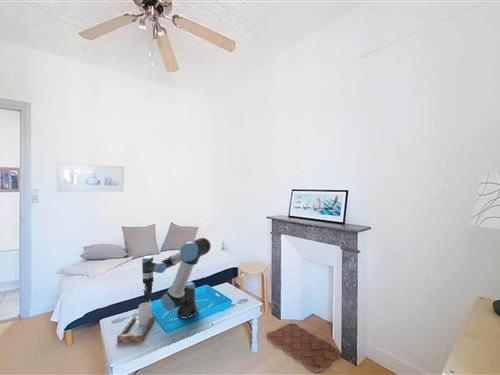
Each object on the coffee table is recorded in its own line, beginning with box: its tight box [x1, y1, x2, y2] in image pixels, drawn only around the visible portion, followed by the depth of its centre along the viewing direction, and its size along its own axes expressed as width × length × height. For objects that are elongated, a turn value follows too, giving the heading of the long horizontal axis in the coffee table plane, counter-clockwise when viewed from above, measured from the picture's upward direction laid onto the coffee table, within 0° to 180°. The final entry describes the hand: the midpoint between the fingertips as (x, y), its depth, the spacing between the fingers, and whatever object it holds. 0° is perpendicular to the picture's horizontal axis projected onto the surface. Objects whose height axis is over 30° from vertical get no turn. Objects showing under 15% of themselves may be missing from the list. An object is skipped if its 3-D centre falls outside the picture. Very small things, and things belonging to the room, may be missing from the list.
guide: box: [116, 315, 156, 344], centre depth 169 cm, size 15×24×4 cm, turn 2°
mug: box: [133, 302, 153, 326], centre depth 179 cm, size 12×8×12 cm
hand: (148, 307), depth 192 cm, fingers closed
